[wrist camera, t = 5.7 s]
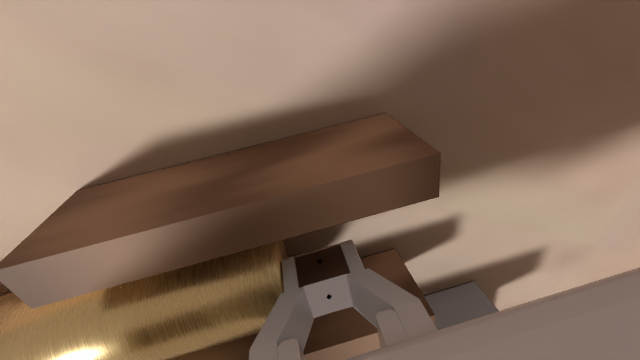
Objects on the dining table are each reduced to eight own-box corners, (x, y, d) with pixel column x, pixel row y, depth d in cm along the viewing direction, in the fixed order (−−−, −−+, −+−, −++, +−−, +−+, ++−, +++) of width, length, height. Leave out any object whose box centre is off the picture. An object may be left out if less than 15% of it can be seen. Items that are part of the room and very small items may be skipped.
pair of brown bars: (385, 113, 11) (440, 152, 8) (396, 267, 16) (434, 335, 12) (77, 190, 11) (-11, 272, 7) (182, 329, 15) (160, 420, 12)
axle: (269, 202, 12) (276, 283, 9) (290, 260, 14) (302, 340, 11) (-80, 295, 11) (-211, 422, 8) (5, 340, 14) (-69, 452, 10)
